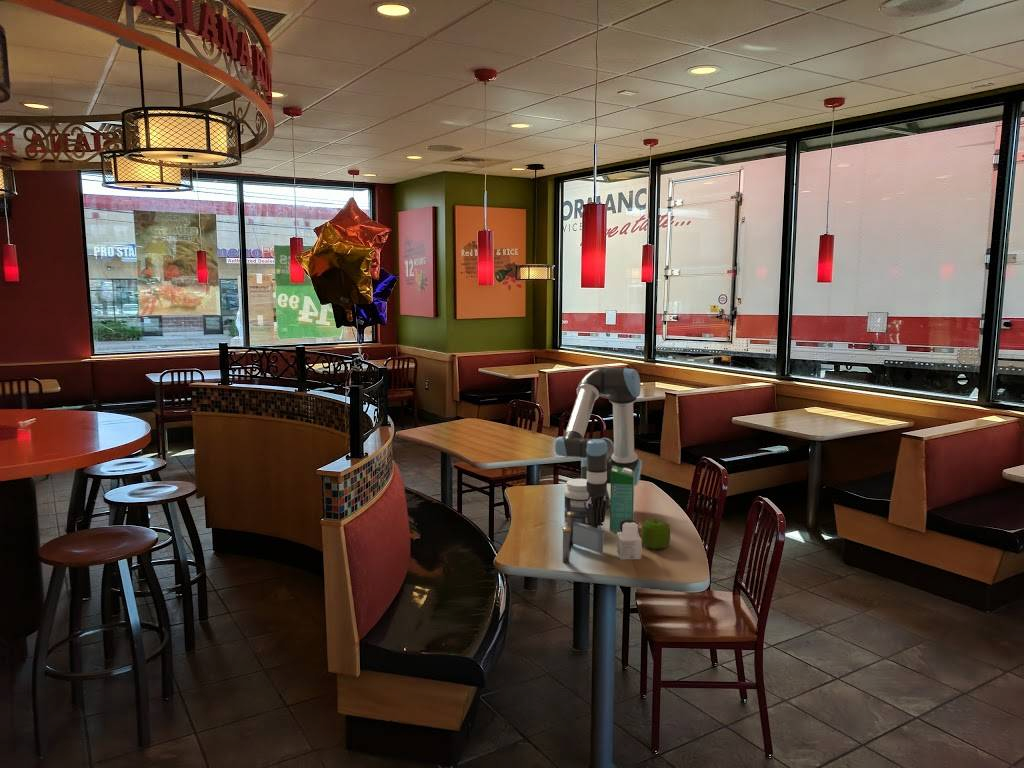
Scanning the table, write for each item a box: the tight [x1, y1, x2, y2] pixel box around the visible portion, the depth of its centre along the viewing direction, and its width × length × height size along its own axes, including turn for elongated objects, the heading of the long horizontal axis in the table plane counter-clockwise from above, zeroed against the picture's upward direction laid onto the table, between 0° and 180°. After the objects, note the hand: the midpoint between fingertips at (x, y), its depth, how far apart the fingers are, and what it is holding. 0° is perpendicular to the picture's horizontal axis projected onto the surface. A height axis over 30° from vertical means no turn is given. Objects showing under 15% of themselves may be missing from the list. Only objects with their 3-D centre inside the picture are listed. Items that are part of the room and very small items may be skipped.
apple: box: [640, 518, 672, 550], centre depth 272 cm, size 11×11×11 cm
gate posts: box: [561, 512, 574, 564], centre depth 265 cm, size 20×3×13 cm, turn 170°
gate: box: [573, 521, 604, 554], centre depth 268 cm, size 13×2×9 cm, turn 45°
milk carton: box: [609, 465, 635, 532], centre depth 292 cm, size 9×9×25 cm
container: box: [616, 519, 643, 561], centre depth 263 cm, size 8×8×13 cm
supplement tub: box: [563, 478, 592, 527], centre depth 295 cm, size 13×13×18 cm
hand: (596, 542), depth 270 cm, fingers closed
